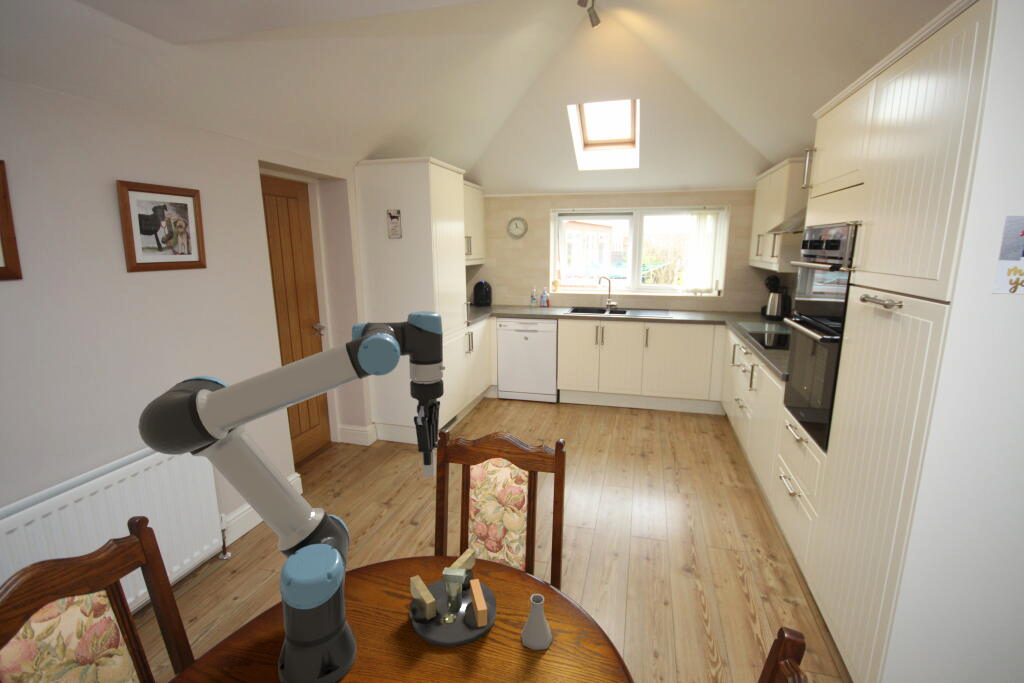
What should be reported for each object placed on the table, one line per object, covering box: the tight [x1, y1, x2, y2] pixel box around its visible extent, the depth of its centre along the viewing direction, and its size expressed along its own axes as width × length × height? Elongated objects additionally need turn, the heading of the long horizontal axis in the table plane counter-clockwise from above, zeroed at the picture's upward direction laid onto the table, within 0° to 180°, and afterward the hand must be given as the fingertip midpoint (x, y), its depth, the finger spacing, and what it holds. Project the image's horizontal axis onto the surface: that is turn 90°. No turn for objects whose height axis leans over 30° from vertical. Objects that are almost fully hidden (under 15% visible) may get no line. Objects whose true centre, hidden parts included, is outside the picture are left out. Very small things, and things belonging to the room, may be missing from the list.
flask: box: [520, 593, 554, 651], centre depth 105 cm, size 7×7×10 cm
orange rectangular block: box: [465, 578, 491, 629], centre depth 108 cm, size 10×6×6 cm, turn 15°
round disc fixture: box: [409, 547, 497, 648], centre depth 113 cm, size 20×22×11 cm
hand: (429, 475), depth 113 cm, fingers closed
